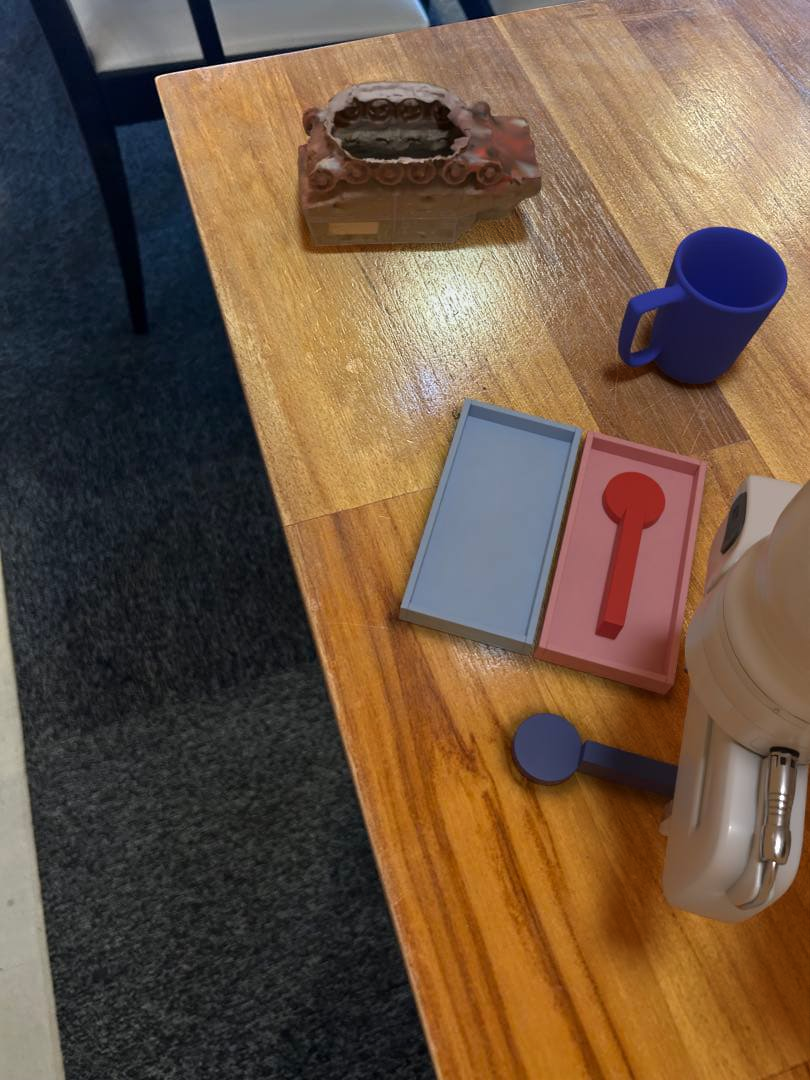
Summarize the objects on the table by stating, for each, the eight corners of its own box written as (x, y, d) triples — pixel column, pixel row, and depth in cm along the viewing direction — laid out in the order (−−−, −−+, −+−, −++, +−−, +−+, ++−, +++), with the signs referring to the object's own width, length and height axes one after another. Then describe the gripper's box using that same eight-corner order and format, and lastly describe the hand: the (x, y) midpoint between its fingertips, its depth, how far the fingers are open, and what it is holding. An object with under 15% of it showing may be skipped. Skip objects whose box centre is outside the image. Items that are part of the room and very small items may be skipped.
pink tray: (698, 475, 72) (707, 461, 70) (664, 695, 63) (673, 685, 61) (582, 444, 72) (588, 429, 71) (533, 657, 64) (538, 646, 62)
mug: (577, 345, 77) (608, 254, 68) (703, 306, 80) (748, 214, 71) (627, 423, 74) (666, 339, 65) (756, 379, 76) (811, 292, 68)
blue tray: (576, 443, 72) (582, 428, 71) (527, 656, 64) (532, 644, 62) (462, 412, 73) (465, 397, 71) (398, 619, 65) (400, 607, 63)
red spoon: (636, 646, 64) (646, 633, 62) (573, 628, 65) (581, 614, 62) (665, 487, 70) (675, 470, 68) (607, 471, 71) (616, 453, 69)
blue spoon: (718, 767, 61) (732, 757, 59) (710, 834, 59) (724, 826, 57) (519, 709, 62) (525, 697, 60) (504, 774, 60) (510, 764, 58)
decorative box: (303, 147, 86) (299, 47, 77) (523, 161, 87) (544, 64, 78) (292, 255, 80) (287, 159, 71) (530, 269, 80) (553, 177, 72)
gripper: (858, 925, 36) (720, 954, 48) (879, 482, 45) (759, 600, 58) (694, 874, 36) (598, 916, 48) (750, 445, 46) (658, 570, 58)
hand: (686, 741), depth 53 cm, fingers open, 8 cm apart
